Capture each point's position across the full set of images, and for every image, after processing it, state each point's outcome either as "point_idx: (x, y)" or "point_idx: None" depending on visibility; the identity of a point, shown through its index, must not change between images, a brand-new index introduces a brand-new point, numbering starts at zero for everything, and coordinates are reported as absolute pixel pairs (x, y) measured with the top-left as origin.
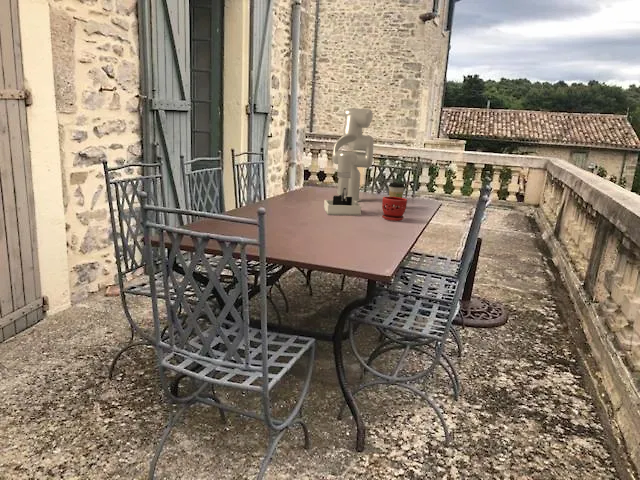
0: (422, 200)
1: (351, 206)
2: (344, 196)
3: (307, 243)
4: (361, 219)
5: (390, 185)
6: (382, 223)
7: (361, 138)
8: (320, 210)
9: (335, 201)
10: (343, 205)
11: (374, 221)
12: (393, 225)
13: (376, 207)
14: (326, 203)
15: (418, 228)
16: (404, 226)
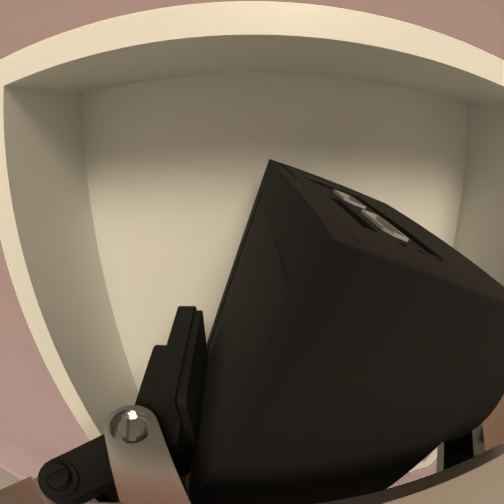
0: None
1: (89, 429)
2: (5, 495)
3: None
4: (20, 381)
5: None
6: (4, 430)
7: None
8: (389, 17)
9: (262, 260)
10: (48, 356)
11: (18, 421)
12: (2, 445)
13: (434, 465)
14: (270, 7)
15: (18, 476)
16: (14, 463)
